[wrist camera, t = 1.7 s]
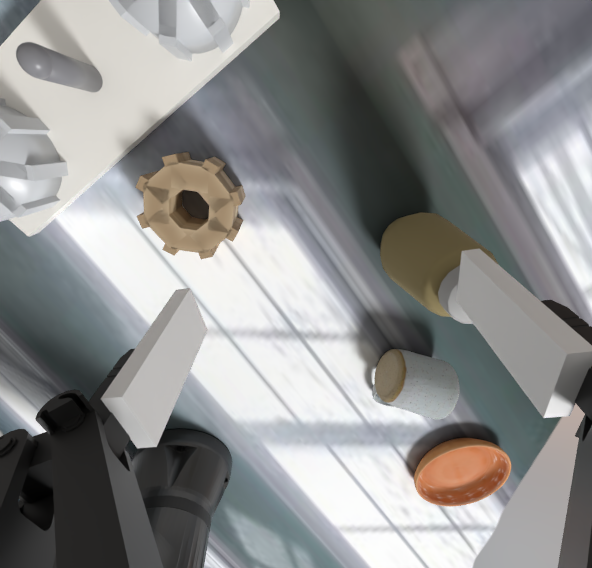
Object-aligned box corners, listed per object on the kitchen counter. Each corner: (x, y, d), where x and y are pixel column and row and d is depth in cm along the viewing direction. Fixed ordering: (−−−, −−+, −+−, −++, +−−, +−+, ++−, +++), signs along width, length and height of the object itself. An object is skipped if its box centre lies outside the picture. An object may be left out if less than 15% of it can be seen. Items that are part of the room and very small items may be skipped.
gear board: (38, 232, 33) (-40, 263, 25) (-66, 140, 29) (-202, 140, 21) (279, 18, 26) (280, -36, 18) (188, -142, 22) (137, -305, 14)
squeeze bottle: (387, 196, 33) (493, 250, 17) (452, 216, 35) (607, 284, 18) (360, 263, 37) (427, 362, 20) (420, 279, 38) (529, 384, 22)
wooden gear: (197, 259, 35) (187, 275, 31) (134, 191, 32) (113, 198, 28) (262, 211, 33) (260, 221, 29) (202, 133, 30) (191, 132, 26)
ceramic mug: (388, 335, 41) (410, 375, 34) (440, 349, 43) (471, 391, 36) (356, 391, 46) (370, 437, 39) (405, 402, 47) (426, 448, 40)
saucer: (393, 458, 53) (399, 475, 50) (480, 415, 49) (492, 431, 47) (432, 500, 59) (440, 517, 56) (512, 464, 55) (524, 481, 53)
